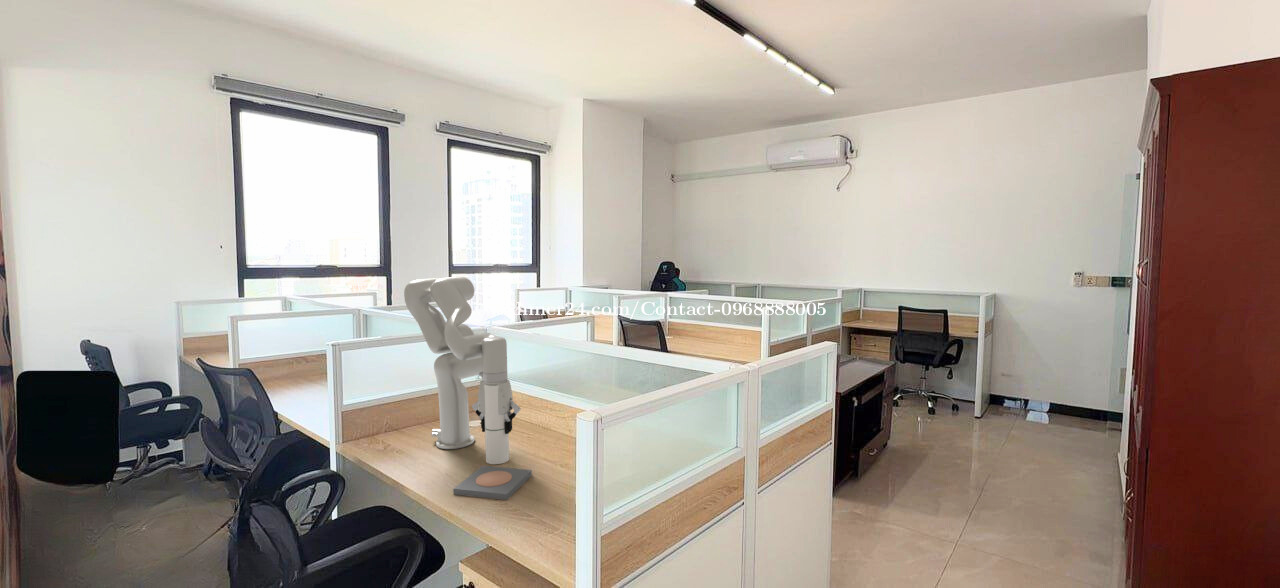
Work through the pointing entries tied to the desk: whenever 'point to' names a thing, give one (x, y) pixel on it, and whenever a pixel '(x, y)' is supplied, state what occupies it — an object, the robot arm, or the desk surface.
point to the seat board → (493, 482)
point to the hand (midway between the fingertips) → (496, 431)
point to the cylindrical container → (495, 428)
